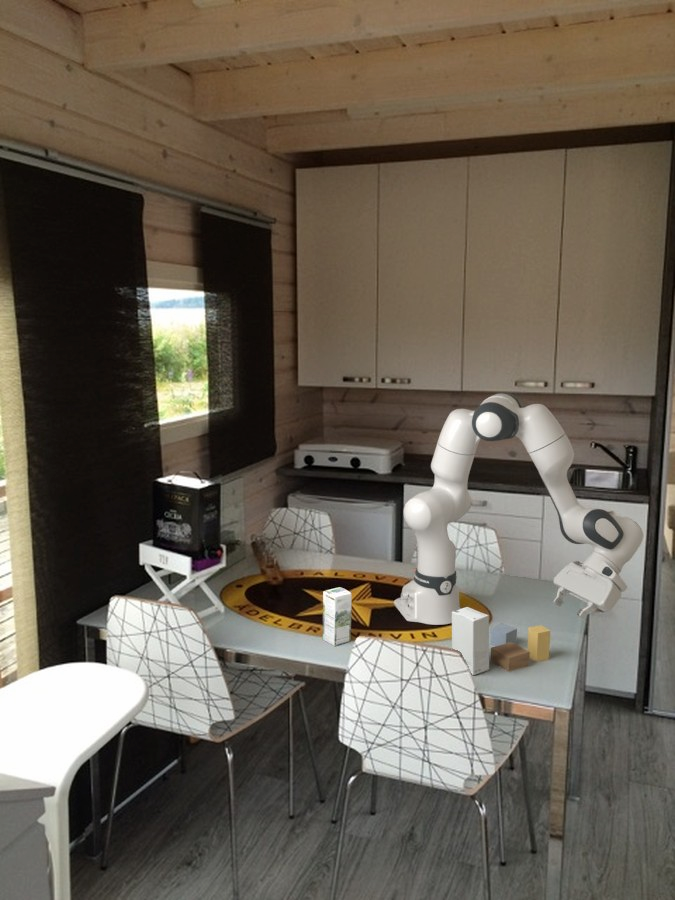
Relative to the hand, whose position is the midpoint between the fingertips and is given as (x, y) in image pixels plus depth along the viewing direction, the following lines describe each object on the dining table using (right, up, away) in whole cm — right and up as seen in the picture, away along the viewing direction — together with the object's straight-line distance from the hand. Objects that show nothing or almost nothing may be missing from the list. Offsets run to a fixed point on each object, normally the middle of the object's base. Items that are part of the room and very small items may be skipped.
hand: (567, 610), depth 214 cm
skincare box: (-28, -13, -7) cm, 31 cm away
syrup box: (-62, -10, +8) cm, 63 cm away
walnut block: (-17, -13, -5) cm, 22 cm away
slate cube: (-16, -11, +6) cm, 20 cm away
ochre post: (-8, -12, -1) cm, 15 cm away
